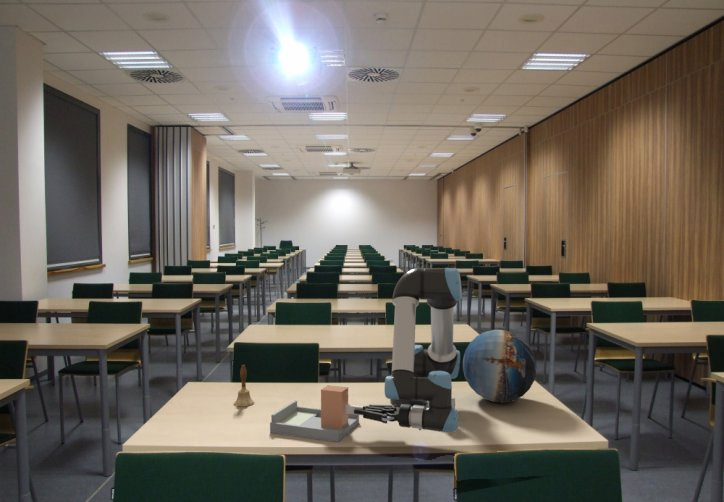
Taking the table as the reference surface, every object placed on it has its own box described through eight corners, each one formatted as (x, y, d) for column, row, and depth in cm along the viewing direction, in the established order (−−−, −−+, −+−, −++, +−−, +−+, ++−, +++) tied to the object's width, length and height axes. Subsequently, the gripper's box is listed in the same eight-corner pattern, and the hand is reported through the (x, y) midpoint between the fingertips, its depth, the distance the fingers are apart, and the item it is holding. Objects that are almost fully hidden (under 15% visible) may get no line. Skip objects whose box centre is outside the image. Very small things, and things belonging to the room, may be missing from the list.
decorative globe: (529, 366, 249) (463, 354, 254) (542, 321, 229) (469, 309, 235) (529, 423, 226) (455, 409, 232) (543, 379, 207) (462, 364, 213)
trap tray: (359, 422, 204) (359, 406, 204) (338, 442, 186) (338, 424, 185) (296, 414, 213) (295, 399, 213) (270, 432, 195) (270, 415, 194)
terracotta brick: (348, 423, 198) (348, 387, 198) (341, 428, 193) (341, 391, 192) (327, 420, 201) (327, 385, 201) (321, 426, 195) (320, 389, 195)
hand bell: (229, 405, 225) (229, 366, 225) (241, 399, 233) (241, 362, 232) (246, 407, 222) (246, 368, 222) (258, 402, 230) (257, 364, 229)
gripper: (406, 433, 180) (339, 425, 188) (416, 421, 192) (353, 413, 200) (406, 411, 180) (339, 403, 188) (416, 399, 192) (353, 393, 200)
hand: (346, 408), depth 194 cm, fingers closed
